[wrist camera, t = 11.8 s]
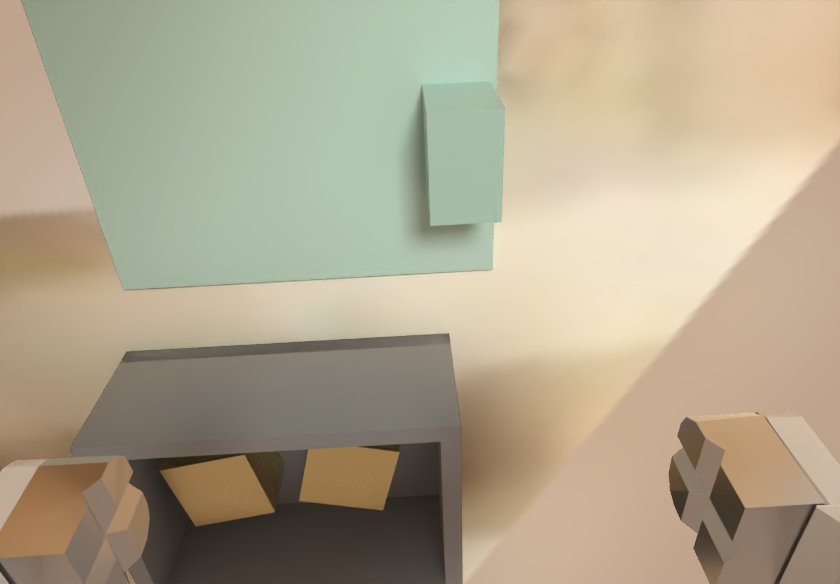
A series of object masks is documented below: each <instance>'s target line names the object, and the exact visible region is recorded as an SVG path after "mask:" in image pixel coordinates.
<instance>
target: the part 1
mask: <svg viewBox="0 0 840 584" xmlns="http://www.w3.org/2000/svg"><path fill="white" fill-rule="evenodd" d="M283 470H284V462H283V459H282V457H281V455H280V453H279V451H273V452H255V453H238V454H221V455H204V456H186V457H169V458H164V461H163V463H162V465H161V468H160V470H159V471H160V473H161V474H162V476H163V477H164V479H165V480H166V482H167V483H168V485H169V487H170V488H171V490H172V491H173V493H174V494H175V496H176V497H177V499H178V500H179V502H180V503H181V505H182V506H183V508H184V509H185V511H186V513H187V514H188V516H189V517H190V519H191V520H192V522H193V523H194V525H195V526H202V525H207V524H213V523H218V522H224V521H229V520H235V519H241V518H246V517H252V516H257V515H263V514H269V513H274V512H275V511H276V506H277V501H278V496H279V490H280V485H281V480H282V475H283Z"/></svg>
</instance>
